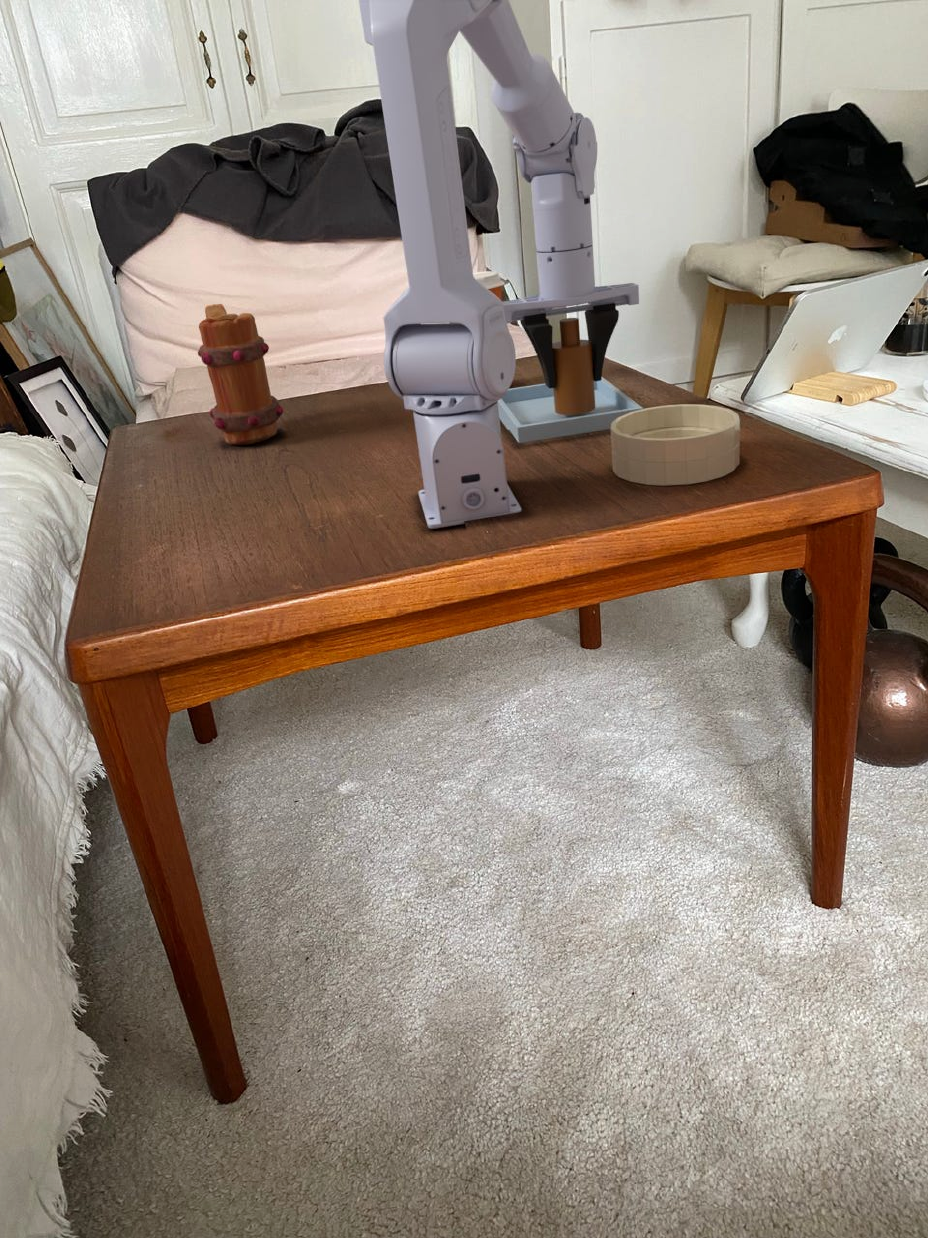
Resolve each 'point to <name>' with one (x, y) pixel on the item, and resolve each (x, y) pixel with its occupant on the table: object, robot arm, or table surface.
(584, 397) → the bottle
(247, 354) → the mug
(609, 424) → the tray
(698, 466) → the bowl
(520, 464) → the table surface
